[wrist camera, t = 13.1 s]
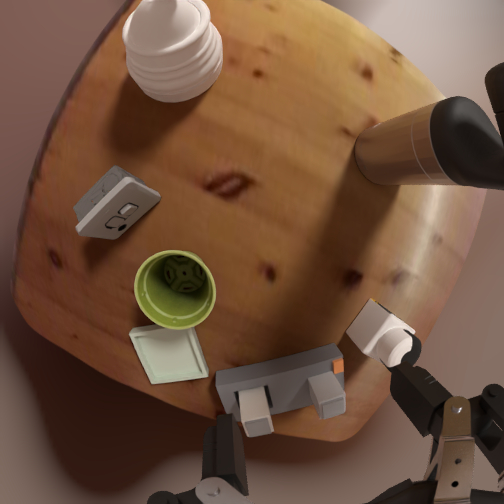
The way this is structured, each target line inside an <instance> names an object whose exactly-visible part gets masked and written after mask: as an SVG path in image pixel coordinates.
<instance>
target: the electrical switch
mask: <svg viewBox="0 0 504 504" xmlns="http://www.w3.org/2000/svg"><path fill="white" fill-rule="evenodd" d="M106 176H107V177H106ZM103 186H104V187H103ZM103 191H104V192H103ZM108 191H110V192H108ZM86 199H87V200H86ZM91 200H92V201H93V203H92V201H91ZM160 200H161V196H160V194H159V193H158V192H157V191H154V190H152V189H150V188H148V187H147V186H146V185H145V183H144V181H142V180H141V179H139V178H137V177H136V176H134V175H132V174H130V173H129V172H127V171H125V170H123V169H122V168H120V167H118V166H117V165H116V166H115V165H114V166H113V167H112V168H111V169H110V170H109V171H108V172H107V173H106V174H105V175H104V176H103V177H102V178H101V179H100V180H99V181H98V182H97V183H96V184H95V185H94V186H93V187H92V188H91V189H90V190H89V191H88V192H87V193H86V194H85V195H84V196H83V197H82V198H81V199H80V200H79V202H78V203H77V204H76V205H75V206H74V207H73V208H74V211H75V213H76V215H77V219H78V221H79V224H78V225H77V226H76V231H77V232H78V234H79V235H80V236H89V237H97V238H105V239H113V240H114V239H117V238H118V237H120V236H121V235H122V234H123V233H124V232H125V231H126V230H127V229H128V228H129V227H130V226H131V225H133V224H134V223H135V222H136V221H137V220H138V219H139V218H140V217H141V216H143V215H144V214H145V213H146V212H147V211H148V210H149V209H151V208H152V207H153V206H154V205H155V204H156V203H157V202H159V201H160Z"/></svg>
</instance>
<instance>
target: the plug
mask: <svg viewBox="0 0 504 504" xmlns="http://www.w3.org/2000/svg"><path fill="white" fill-rule="evenodd" d="M239 402H240V413H241V421H242V424H243V427H244V429H245V432H246V434H247V436H249V437H255V436H260V435H265V434H270V433H271V432H273V431H274V428H273V424H272V419H271V415H270V410H269V406H268V401H267V396H266V392H265V388H264V386H260V387H256V388H251V389H246V390H241V391H239Z"/></svg>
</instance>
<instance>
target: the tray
mask: <svg viewBox="0 0 504 504" xmlns="http://www.w3.org/2000/svg"><path fill="white" fill-rule="evenodd" d="M129 335H130V337H131V340H132V342H133V344H134V347H135V349H136V351H137V354H138V356H139V358H140V360H141V363H142V365H143V367H144V369H145V371H146V373H147V375H148V377H149V379H150V381H151V383H152V384H157V383H167V382H175V381H183V380H190V379H197V378H203V377H208V372H209V369H208V366H207V364H206V361H205V358H204V355H203V352H202V350H201V347H200V344H199V341H198V338H197V335H196V332H195V329H194V327H191V328H188V329H182V330H175V329H169V328H165V327H162V326H160V325H158V324H155V325H149V326H143V327H137V328H133V329H132V330H131V332H130V333H129Z"/></svg>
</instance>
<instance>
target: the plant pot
mask: <svg viewBox="0 0 504 504" xmlns="http://www.w3.org/2000/svg"><path fill="white" fill-rule="evenodd" d="M179 255H182V256H186V257H180V258H177V256H179ZM199 266H201V267H202V271H203V274H202V275H201V274H200V268H199ZM168 270H169V272H170V278H171V279H169V278H168V275H167V271H168ZM184 271H185V272H186V275H184V274H183V272H184ZM184 287H192V288H191V289H189V290H185V289H183V288H184ZM134 289H135V296H136V299H137V302H138V305H139V306H140V308H141V310H142V311H143V312H144V314H145V315H146V316H147V317H148V318H149V319H150V320H152V321H153V322H155V323H156V324H158V325H160V326H162V327H165V328H169V329H175V330H182V329H188V328H191V327H194V326H196V325H198V324H199V323H201V322H202V321H203V320H205V319H206V317H207V316H208V315H209V314H210V312H211V311H212V308H213V306H214V303H215V299H216V287H215V282H214V279H213V276H212V274H211V272H210V271H209V269H208V268H207V267H206V265H205V264H204V262H203V261H202V259H201V258H200V257H198V256H197V255H196V254H194V253H192V252H189V251H179V250H167V251H163V252H159V253H157V254H155V255H153V256H151V257H150V258H148V259H147V260H146V261H145V262H144V263H143V264H142V265H141V267H140V268H139V270H138V272H137V275H136V278H135V284H134Z"/></svg>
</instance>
